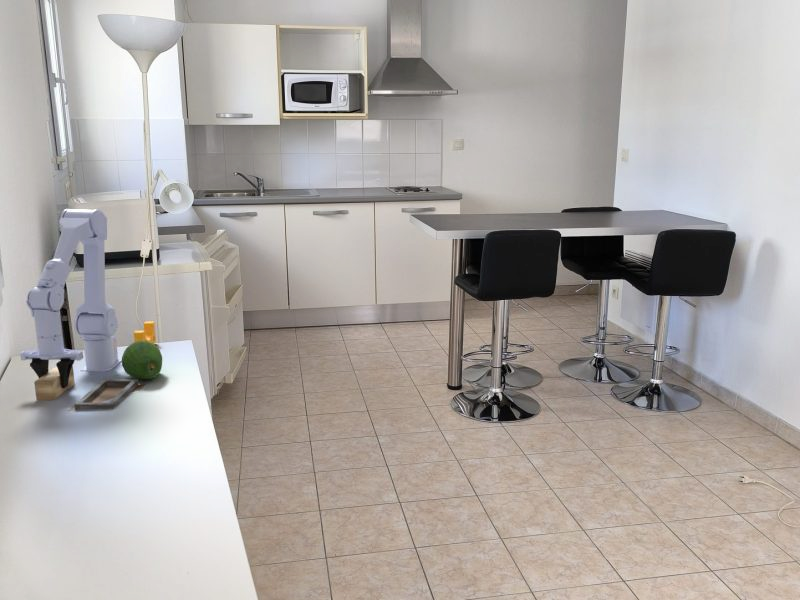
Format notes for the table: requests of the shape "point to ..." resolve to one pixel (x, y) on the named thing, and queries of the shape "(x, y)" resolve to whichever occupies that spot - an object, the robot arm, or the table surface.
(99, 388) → the channel
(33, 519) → the table surface
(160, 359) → the fruit
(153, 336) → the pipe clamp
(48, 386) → the wooden block
